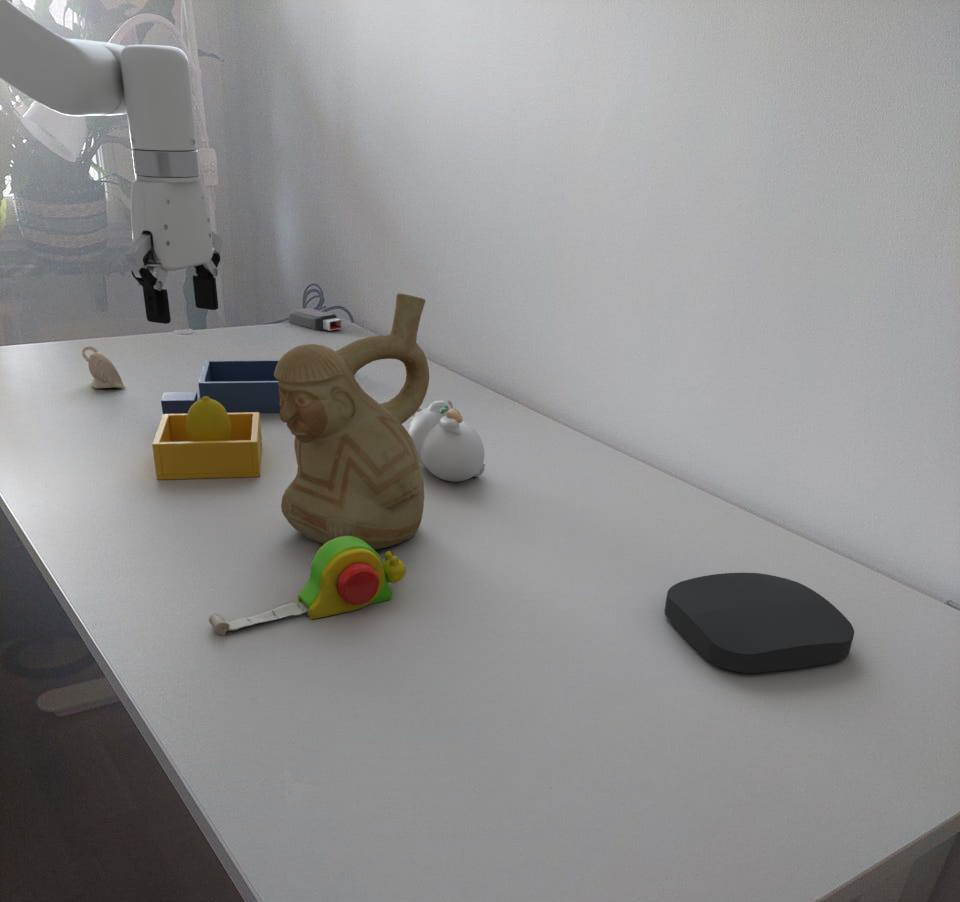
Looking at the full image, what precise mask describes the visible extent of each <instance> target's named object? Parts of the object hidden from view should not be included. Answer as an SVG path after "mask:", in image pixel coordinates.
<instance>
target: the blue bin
mask: <svg viewBox="0 0 960 902" xmlns="http://www.w3.org/2000/svg"><path fill="white" fill-rule="evenodd" d="M279 360H280V359H205V360H204V362H203V366H202V370H201V373H200V376H199V380H198V383H197V384H198V392H199V400H200V399H202V398H203V397H204V396H208V397H209V398H210V399H213V400H216V401H217V402H219V403H220V404H221V405H222V406H223V407H224V408H225V410H226V411H227V413H245V412H253V413H254V412H259V414H263V413H264V414H267V413H268V414H269V413H275V414H276V413H280V410H281V408H280V396H279V385H278V380H277V379H276V378H275V377H274V371H275V368H276V365H277V363H278V362H279Z"/></svg>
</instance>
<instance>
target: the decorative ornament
mask: <svg viewBox="0 0 960 902" xmlns="http://www.w3.org/2000/svg"><path fill="white" fill-rule="evenodd" d="M87 351H92V352H94V353H92V354H90V356H88V355H87V354H86V352H87ZM81 355H82V357H83V359H84V360H85V361H86V362H88V370H89V373H90V375H91V377H93V379H91V383H90V384H91V387H92V388H94V389H96V390H97V389H106V388H107V389H111V388H119V389H121V388H122V389H126V386H125V385H124V382H123V380H122V377H121V375H120V373H119V371H118V370H117V368H116V366H115V365H114V363H113V362H112V360H111V359H110V358H109V357H108V356H107V355H105V354H103V353H102V352H99V351H98V350H97V349H96V348H95V347H93V346H85V347H83V348H82V350H81Z"/></svg>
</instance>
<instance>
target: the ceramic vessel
mask: <svg viewBox="0 0 960 902" xmlns="http://www.w3.org/2000/svg"><path fill="white" fill-rule="evenodd" d="M425 304H426V299H424V298H423V297H418V296H414V295H410V294H405V293H401V292H400V293H397V294H396V296H395V306H394V307H395V309H394V314H393V320H392V321H393V322H392V326H391V331H390V333H389V334H378V335H371V336H367V337H363V338H360V339H357V340H354V341H351V342H350V343H348V344H346V345H344V346H342V347H340V348H339V349H337V350H333V348H331V347H328V346H326V345H324V344H319V343H306V344H301V345H298V346H295V347H293V348H291V349H289V350H288V351H286V353H284V354H283V355H282V356H281V357H280V358H279V359H278V360H279V362H278V363H277V365H276V368H275V371H274V377H275V378H276V379H277V380H278V385H279V396H280V408H281V410H280V412H279V413H278V414H279V418H280V420H281V421H282V422H283V423H286V427H287V429H288V430H289V431H290V433H291V435H292V436H294V440H293V443H294V453H295V458H296V459H295V460H296V464H297V472H296V474H295V477H294V479H292V481H291V482H290V484H289V485H288V486H287V488H286V489H285V490H284V493H283V495H282V497H281V505H280V508H281V513H282V515H283V516H284V518H285V520H287V522H288V524H289V525H290V526H292V528H294V529H295V530H296V531H297V532H299V534H302V535H303V536H304V537H307V538H309V539H311V540H313V541H315V542H317V543H319V544H322V545H324V544H325V543H327V542H328V541H330V540H332V539H335V538H337V537H342V536H353V537H357V538H359V539H361V540H363V541H365V542H366V543H367V544H368V545H369V546H370V547H371V548H372V549H373V550H374V551H376V550H381V549H385V548H389V547H393V546H396V545H398V544H401V543H403V542H406V541H408V540H409V539H411V538H412V537H413V536H414V535H415V534H416V533H417V532H418V530H419V528H420V525H421V522H422V519H423V514H424V506H425V505H424V503H425V486H424V478H423V471H422V467H421V466H422V465H421V463H420V461H419V457H418V453H417V450H416V447H415V445H414V442H413V440H412V438H411V436H410V435H409V433H408V430H407V429H406V428H405V426H404V425H403V424H404V423H405V422H407V421H408V420H409V419H410V418H411V417H413V414H415V413H416V411H417V410H418V409H419V407H420V408H421V406H422V404H423V402H424V401H425V398H426V395H427V392H428V388H429V385H430V368H429V367H430V366H429V363H428V359H427V356H426V355H425V352H424V350H423V349H422V348H421V346H420V345H419V344H418V343H417V337H418V331H419V326H420V322H421V318H422V313H423V311H424V307H425ZM389 359H390V360H397V361H400V362H401V363H403V365H404V367H405V373H406V375H405V380H404V381H405V382H404V384H403V385H402V388H401V389H400V390H399V392H398V393H397V394H396V395H395V396H394V397H393V398H391V399H389V400H388V401H385V402H381V403H379V402H378V401H377V400H375V399H374V398H373V397H372V396H370V395H369V394H368V393H367V392H366V391H365V390H364V389H363V388H362V387H361V386H360V385H359V383H358V381H357V380H356V378H355V377H356V376H355V375H356V373H358V371H360V370H361V369H362V368H363V367H365V366H366V365H368V364H370V363H373V362H376V361H380V360H389Z"/></svg>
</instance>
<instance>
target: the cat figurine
mask: <svg viewBox="0 0 960 902" xmlns="http://www.w3.org/2000/svg"><path fill="white" fill-rule="evenodd" d="M412 417H413V418H412V420H411V421H410V424H409V426H408V430H407V432H408V433H409V435H410V436H411V438H412V440H413V442H414V445H415V447H416V450H417V453H418V457H419V461H420V465H421V466H423V467H425V468H426V469H427V470H428V472H430V473H431V474H432V475H434V476H436V477H437V478H439V479H441V480H443V481H446V482H447V481H448V482H454V483H455V482H457V483H458V482H464V481H467V480H469V479H471V478H479V476H481V475H482V474H483V473H484V472H485V469H486V468H485V466H486V464H485V463H484V461H485V446H484V444H483V440H482V438H481V436H480V435H479V433H478V431H477V430H476V428H474V426H472V425H470V424H469V423H467V422H466V421H464V419H463V416H462V414H461V412H460V411H459V410H458V409H457V408H454V404H453V403H452V401H451V400H450V399H448V400H447V401H445V400H443V399H442V400H434V401H433V402H431V403H430V404H429V406H428V407H421V406H420V407H419V409H418V410H417V411H416V413H415V414H413V415H412Z"/></svg>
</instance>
